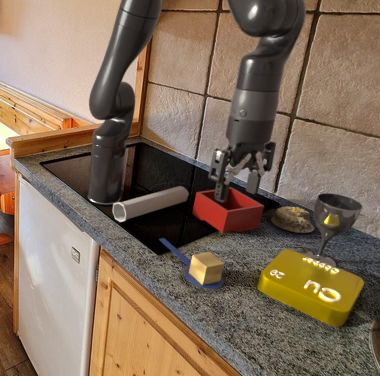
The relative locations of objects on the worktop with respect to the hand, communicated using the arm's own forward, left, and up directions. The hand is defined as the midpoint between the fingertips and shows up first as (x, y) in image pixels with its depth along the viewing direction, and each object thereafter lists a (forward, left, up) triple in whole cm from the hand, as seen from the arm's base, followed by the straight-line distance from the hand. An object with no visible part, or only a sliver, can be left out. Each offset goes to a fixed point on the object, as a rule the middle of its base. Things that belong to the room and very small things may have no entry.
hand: (236, 196), depth 79 cm
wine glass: (+3, +26, -19) cm, 32 cm away
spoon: (-5, -4, -18) cm, 19 cm away
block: (+1, -4, -18) cm, 18 cm away
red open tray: (-18, +18, -18) cm, 31 cm away
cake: (-11, +34, -19) cm, 40 cm away
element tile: (+11, +13, -19) cm, 25 cm away
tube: (-29, +3, -19) cm, 35 cm away
